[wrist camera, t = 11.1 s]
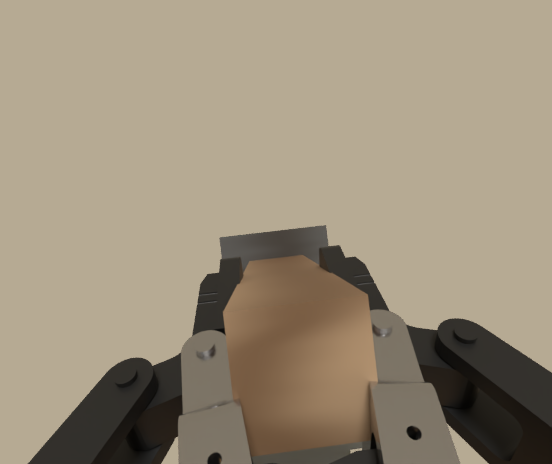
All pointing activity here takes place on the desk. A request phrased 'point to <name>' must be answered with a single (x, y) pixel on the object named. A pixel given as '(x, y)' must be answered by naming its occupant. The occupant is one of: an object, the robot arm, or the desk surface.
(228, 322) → the mallet
